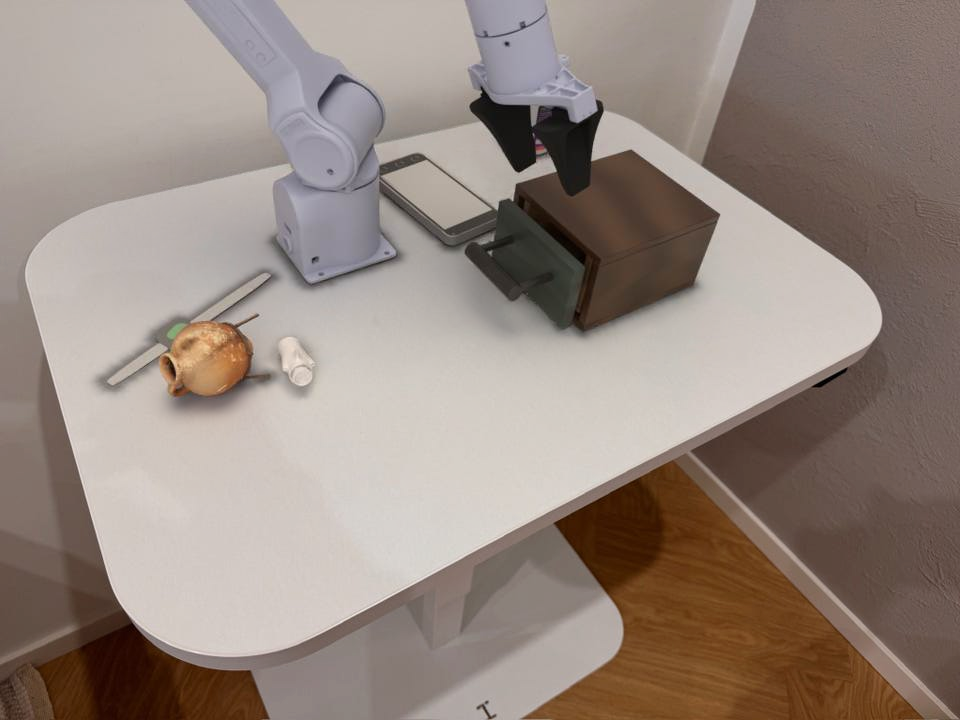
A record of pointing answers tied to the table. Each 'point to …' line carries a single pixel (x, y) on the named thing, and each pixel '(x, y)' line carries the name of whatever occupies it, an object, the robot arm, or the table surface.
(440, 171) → the smartphone
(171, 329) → the strap with green oval
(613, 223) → the cabinet
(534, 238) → the rack drawer
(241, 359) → the pot
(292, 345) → the small white plastic part
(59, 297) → the table surface
